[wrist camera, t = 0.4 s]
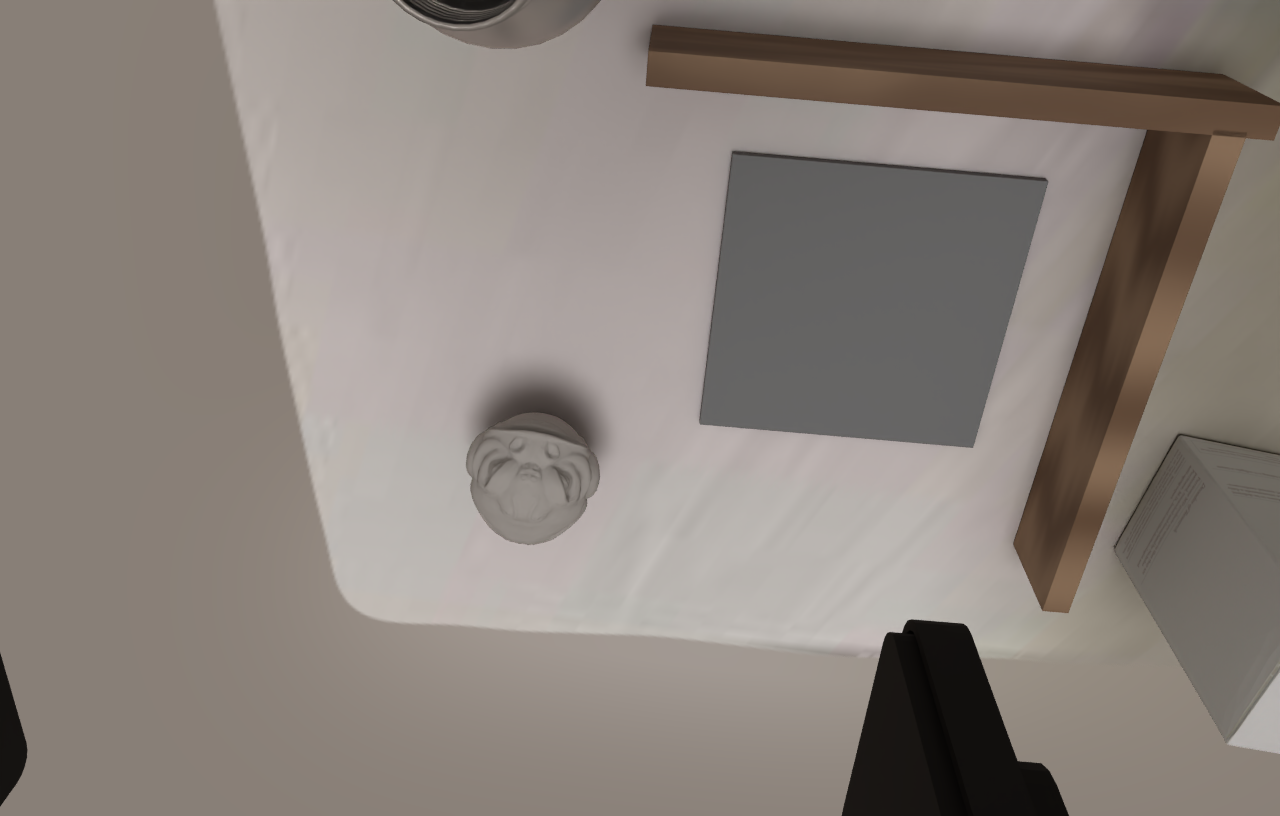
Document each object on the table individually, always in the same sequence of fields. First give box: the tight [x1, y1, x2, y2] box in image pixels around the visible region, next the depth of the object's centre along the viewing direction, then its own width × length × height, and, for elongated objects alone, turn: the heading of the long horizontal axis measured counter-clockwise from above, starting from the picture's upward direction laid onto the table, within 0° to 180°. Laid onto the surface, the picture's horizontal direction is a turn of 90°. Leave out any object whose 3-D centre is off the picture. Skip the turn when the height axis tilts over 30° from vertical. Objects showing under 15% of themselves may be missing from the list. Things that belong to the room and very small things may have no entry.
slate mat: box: [700, 152, 1048, 448], centre depth 46 cm, size 13×13×1 cm
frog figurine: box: [466, 412, 600, 545], centre depth 47 cm, size 6×7×7 cm
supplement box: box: [1115, 436, 1280, 754], centre depth 45 cm, size 7×7×13 cm
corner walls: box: [646, 25, 1280, 613], centre depth 44 cm, size 23×22×5 cm
